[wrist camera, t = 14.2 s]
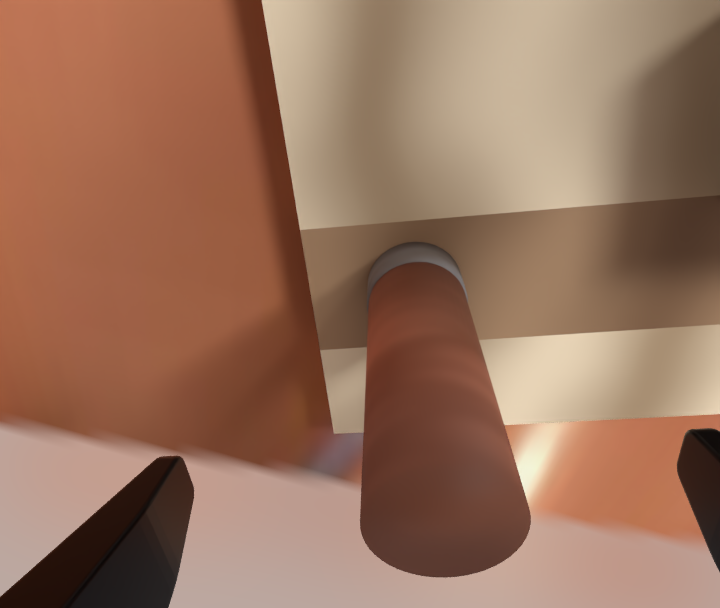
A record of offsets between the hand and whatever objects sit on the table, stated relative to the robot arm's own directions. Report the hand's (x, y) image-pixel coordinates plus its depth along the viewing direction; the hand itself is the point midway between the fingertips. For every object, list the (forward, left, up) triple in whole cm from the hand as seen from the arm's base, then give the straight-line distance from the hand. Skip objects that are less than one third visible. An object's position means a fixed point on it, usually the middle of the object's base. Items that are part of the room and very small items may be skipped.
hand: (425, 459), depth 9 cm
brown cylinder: (0, 0, -6) cm, 7 cm away
